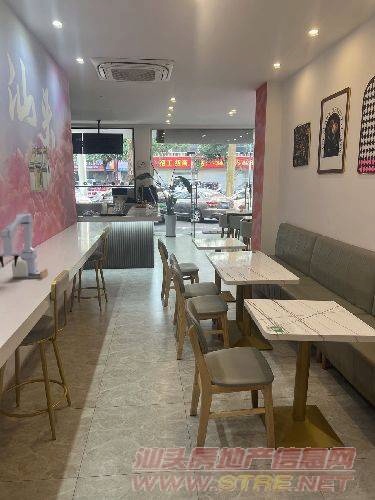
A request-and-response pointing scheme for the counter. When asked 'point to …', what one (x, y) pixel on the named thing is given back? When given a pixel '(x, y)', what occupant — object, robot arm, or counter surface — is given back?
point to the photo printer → (20, 269)
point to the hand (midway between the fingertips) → (9, 266)
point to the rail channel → (34, 275)
